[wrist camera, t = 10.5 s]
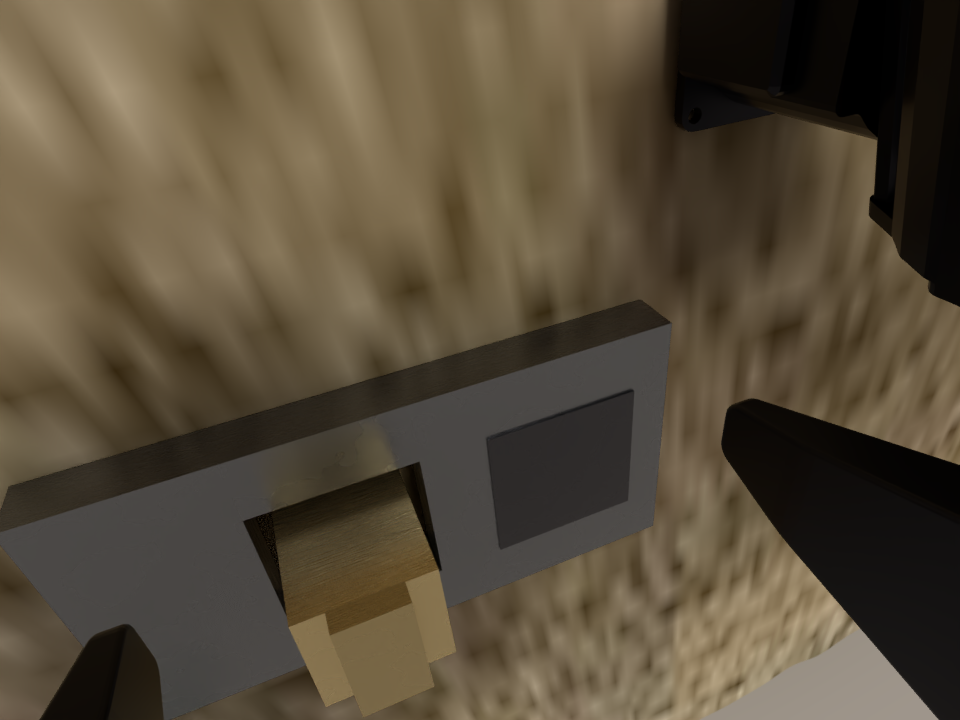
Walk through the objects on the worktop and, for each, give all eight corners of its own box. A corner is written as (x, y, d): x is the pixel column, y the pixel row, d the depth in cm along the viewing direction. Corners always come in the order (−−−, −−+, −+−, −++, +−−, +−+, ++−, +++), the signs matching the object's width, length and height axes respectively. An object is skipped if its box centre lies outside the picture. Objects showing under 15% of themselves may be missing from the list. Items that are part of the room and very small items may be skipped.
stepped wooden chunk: (388, 445, 24) (446, 589, 18) (408, 527, 26) (464, 673, 21) (267, 485, 22) (291, 650, 17) (300, 566, 25) (330, 731, 20)
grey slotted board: (640, 299, 24) (673, 324, 23) (629, 496, 31) (654, 527, 29) (8, 487, 19) (-10, 537, 17) (152, 679, 25) (149, 730, 23)
